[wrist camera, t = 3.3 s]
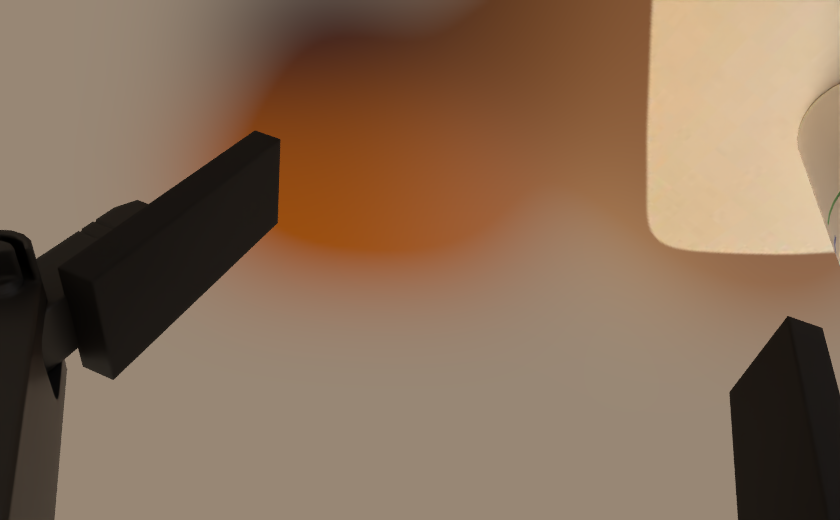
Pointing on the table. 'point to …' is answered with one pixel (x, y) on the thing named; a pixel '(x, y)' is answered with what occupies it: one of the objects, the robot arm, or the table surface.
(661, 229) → the table surface
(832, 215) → the cylindrical container
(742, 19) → the table surface
